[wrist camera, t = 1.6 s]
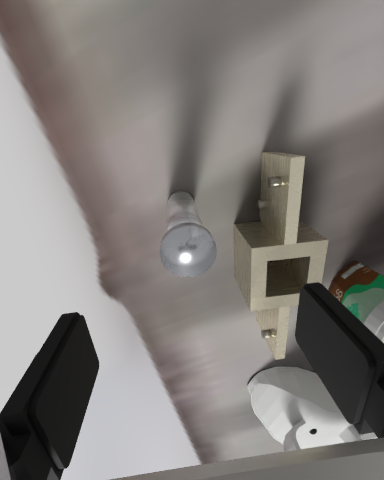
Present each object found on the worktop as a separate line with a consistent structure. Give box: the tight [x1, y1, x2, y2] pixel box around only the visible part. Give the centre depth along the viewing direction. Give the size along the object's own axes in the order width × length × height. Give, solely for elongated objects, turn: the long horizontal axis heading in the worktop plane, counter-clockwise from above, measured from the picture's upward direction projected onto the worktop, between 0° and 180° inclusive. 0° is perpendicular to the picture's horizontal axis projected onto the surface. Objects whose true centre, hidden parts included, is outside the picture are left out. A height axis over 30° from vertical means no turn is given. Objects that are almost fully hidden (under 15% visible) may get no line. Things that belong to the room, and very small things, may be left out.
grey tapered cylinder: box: [160, 191, 216, 277], centre depth 22 cm, size 4×4×13 cm
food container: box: [328, 261, 384, 343], centre depth 31 cm, size 12×6×10 cm, turn 25°
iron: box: [248, 367, 363, 452], centre depth 37 cm, size 11×24×15 cm, turn 66°
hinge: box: [234, 151, 328, 360], centre depth 28 cm, size 24×8×7 cm, turn 5°
